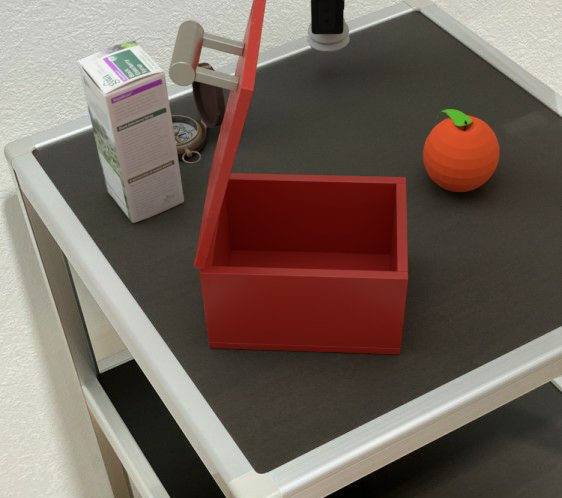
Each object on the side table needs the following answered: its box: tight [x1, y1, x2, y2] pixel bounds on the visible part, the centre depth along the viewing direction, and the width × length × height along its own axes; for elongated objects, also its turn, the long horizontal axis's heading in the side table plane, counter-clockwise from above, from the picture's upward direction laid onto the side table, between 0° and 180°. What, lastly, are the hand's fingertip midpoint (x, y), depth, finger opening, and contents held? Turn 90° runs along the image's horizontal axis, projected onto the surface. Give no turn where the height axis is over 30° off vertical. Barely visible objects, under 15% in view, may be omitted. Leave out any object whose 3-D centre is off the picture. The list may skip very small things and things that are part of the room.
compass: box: [171, 61, 226, 165], centre depth 93 cm, size 8×8×7 cm
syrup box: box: [77, 40, 185, 224], centre depth 86 cm, size 6×6×14 cm
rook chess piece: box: [306, 18, 351, 54], centre depth 97 cm, size 4×4×8 cm
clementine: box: [422, 108, 500, 193], centre depth 89 cm, size 8×7×7 cm
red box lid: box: [168, 0, 267, 270], centre depth 69 cm, size 16×12×5 cm
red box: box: [199, 172, 409, 355], centre depth 79 cm, size 16×12×9 cm
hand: (328, 19), depth 98 cm, fingers closed on rook chess piece, 3 cm apart
